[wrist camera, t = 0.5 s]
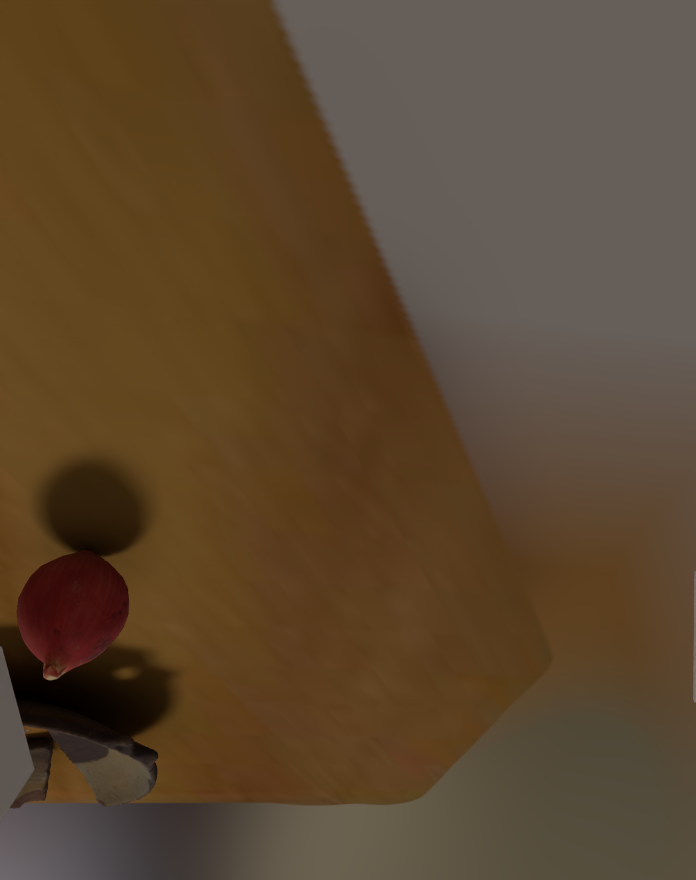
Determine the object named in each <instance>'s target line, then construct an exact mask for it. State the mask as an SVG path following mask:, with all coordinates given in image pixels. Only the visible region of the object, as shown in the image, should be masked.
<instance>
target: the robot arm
mask: <svg viewBox="0 0 696 880" xmlns="http://www.w3.org/2000/svg"><path fill="white" fill-rule="evenodd" d="M694 579H695V580H694V585H695V586H694V688H693V689H694V692H693V700H694V702H695V703H696V571H695V577H694ZM33 771H34V766H33V762H32V759H31V755H30V751H29V747H28V744H27V740H26V736H25V732H24V728H23V725H22V721H21V717H20V713H19V710H18V706H17V702H16V698H15V695H14V691H13V687H12V683H11V680H10V676H9V672H8V668H7V664H6V661H5V657H4V653H3V649H2V646H0V822H1V820H2V819H3V817H4V816H5V814H6V813H7V811H8V810H9V808H10V807H11V805H12V803H13V802H14V800H15V799H16V797H17V796H18V794H19V793H20V791H21V790H22V788H23V786H24V785H25V783H26V782H27V780H28V779H29V777H30V776H31V774H32V773H33Z"/></svg>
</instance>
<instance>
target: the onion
mask: <svg viewBox="0 0 696 880" xmlns="http://www.w3.org/2000/svg"><path fill="white" fill-rule="evenodd" d="M128 611H129V595H128V588H127V585H126V583H125V581H124V579H123V577H122V576H121V575H120V574H119V573H118V572H117V571H116V569H115V568H114V567H113V566H112V565H111V564H110V563H108V562H107V561H106V560H104V559H103V558H101V557H99V556H98V555H97V554H96V553H95V552H93V551H91V550H81V551H78V552H76V553H73V554H69V555H65V556H62V557H59V558H57V559H55V560H52V561H50V562H48V563H46V564H44V565H42V566H41V567H40V568H39V569H38V570H37V571H35V572H34V573H33V574H32V575H31V576H30V578H29V580H28V581H27V583H26V584H25V586H24V588H23V590H22V592H21V594H20V596H19V598H18V605H17V622H18V626H19V630H20V633H21V636H22V638H23V640H24V642H25V644H26V646H27V647H28V649H29V650H30V651H31V652H32V653H33V654H34V655H35V656H36V657H37V658H38V659H39V660H40V661H42V662H43V663H44V668H43V676H44V678H46V679H47V680H54V679H58V678H59V677H60V676H61V675H62V674H64V673H66V672H68V671H70V670H72V669H73V668H75V667H78V666H80V665H83V664H85V663H87V662H89V661H91V660H93V659H94V658H96V657H98V656H99V655H100V654H101V653H103V652H104V651H105V650H106V648H107V647H108V646H109V645H110V644H111V643H112V642H113V641H114V640H115V638H116V637H117V636H118V635H119V633H120V632H121V630H122V629H123V627H124V625H125V622H126V619H127V617H128Z"/></svg>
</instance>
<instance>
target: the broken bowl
mask: <svg viewBox="0 0 696 880" xmlns="http://www.w3.org/2000/svg"><path fill="white" fill-rule="evenodd" d="M16 702H17V706H18V710H19V713H20V717H21V721H22V725H23V726H28V727H34V728H41V729H47V730H48V731H49V734H50V735H51V736H52V738H53V739H54V741H56V743H57V745H58V746H60V749H61V750H62V751H63V752H64V753H65V754H66V755H67V757H68V758H69V760H71V761H72V763H74V764H75V765H76V767H77V769H78V770H79V771H81V772H82V773H83V774H84V776H85V779H86V781H87V783H88V784H89V786H90V787H91V788H92V790H93V792H94V794H95V796H96V798H97V801H98V802H99V803H100V804H102V805H103V806H105V807H107V806H111V805H120V804H126V803H128V802H130V801H134V800H138V799H141V798H142V797H144V796H146V795H147V794H148V793H149V792H150V791H151V790H152V788H153V787H154V785H155V783H156V779H157V766H156V763H155V761H156V760H157V759H158V753H157V752H156V751H155V750H153V749H150V748H148V747H145V746H143V745H141V744H139V743H137V742H135V741H134V740H133V739H132V738H131V737H130V736H128V735H125V734H120V733H117V732H115V731H113V730H112V729H110V728H108V727H106V726H104V725H103V724H101V723H99V722H97V721H94V720H92V719H90V718H88V717H86V716H83V715H81V714H78V713H76V712H73V711H70V710H67V709H63V708H60V707H57V706H53V705H50V704H46V703H41V702H37V701H30V700H21V699H16ZM24 731H29V730H24ZM52 743H53V742H52V741H50V740H48V739H44V740H38V739H36V740H27V744H28V747H29V751H30V755H31V759H32V762H33V766H34V771H33V773H32V774H31V776H30V777H29V779H28V780H27V782H26V783H25V785H24V786H23V788H22V790H21V791H20V793H19V794H18V796H17V797H16V799H15V800H14V802H13V803H12V805H11V807H10V808H19V807H20V806H22V805H23V804H24V803H26V802H29V801H39V800H42V801H43V800H45V798H46V793H47V789H48V779H49V775H50V768H51V757H52V753H53V751H52V749H53V744H52Z"/></svg>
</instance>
